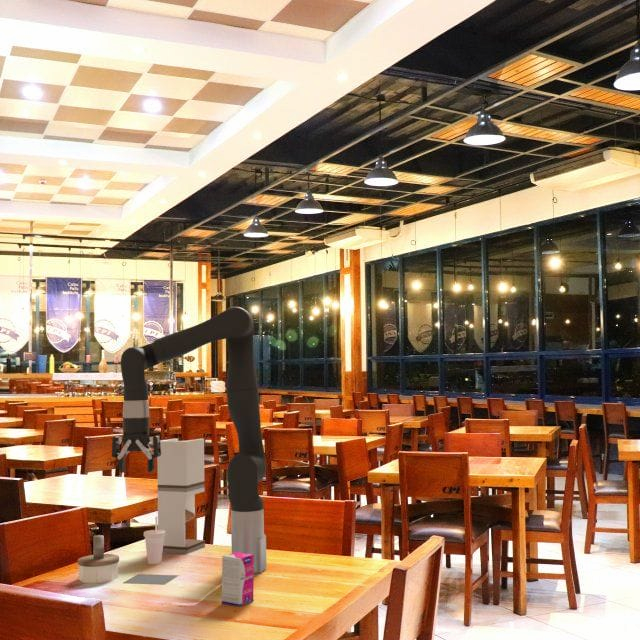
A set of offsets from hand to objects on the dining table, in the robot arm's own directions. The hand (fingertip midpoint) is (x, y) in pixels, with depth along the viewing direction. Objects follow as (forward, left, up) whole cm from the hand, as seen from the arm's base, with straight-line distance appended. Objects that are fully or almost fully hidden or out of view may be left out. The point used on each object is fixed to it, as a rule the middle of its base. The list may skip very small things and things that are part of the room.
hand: (136, 472), depth 239 cm
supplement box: (-39, +28, -28) cm, 56 cm away
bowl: (+6, +12, -28) cm, 31 cm away
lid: (+6, +12, -23) cm, 27 cm away
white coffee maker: (-2, -30, -28) cm, 41 cm away
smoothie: (-2, -8, -28) cm, 30 cm away
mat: (-9, +11, -28) cm, 31 cm away
